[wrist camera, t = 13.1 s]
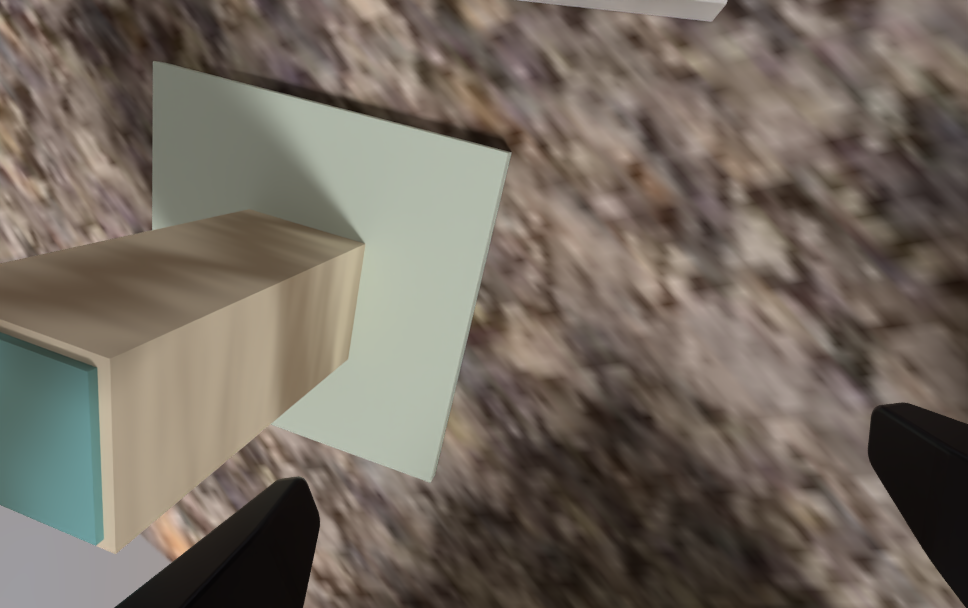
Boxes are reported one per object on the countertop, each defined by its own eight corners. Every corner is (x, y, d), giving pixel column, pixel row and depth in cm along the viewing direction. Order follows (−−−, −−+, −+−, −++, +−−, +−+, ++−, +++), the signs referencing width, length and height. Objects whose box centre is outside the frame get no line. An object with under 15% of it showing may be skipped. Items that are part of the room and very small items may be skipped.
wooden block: (365, 243, 20) (100, 362, 10) (348, 359, 22) (107, 560, 12) (249, 208, 21) (-108, 287, 11) (241, 323, 23) (-72, 483, 13)
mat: (511, 152, 19) (508, 153, 18) (435, 474, 24) (430, 482, 23) (165, 62, 21) (152, 60, 20) (161, 375, 26) (151, 381, 25)
